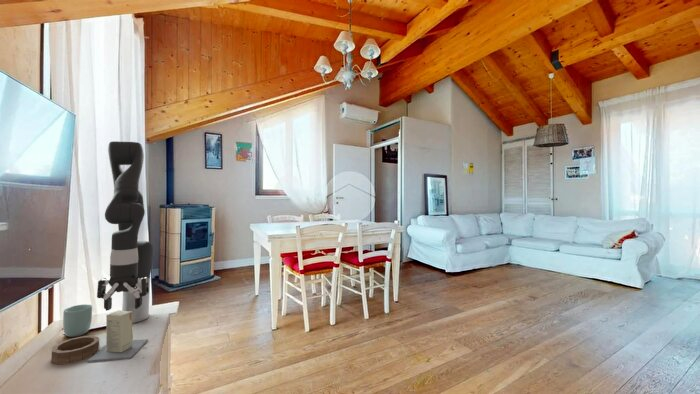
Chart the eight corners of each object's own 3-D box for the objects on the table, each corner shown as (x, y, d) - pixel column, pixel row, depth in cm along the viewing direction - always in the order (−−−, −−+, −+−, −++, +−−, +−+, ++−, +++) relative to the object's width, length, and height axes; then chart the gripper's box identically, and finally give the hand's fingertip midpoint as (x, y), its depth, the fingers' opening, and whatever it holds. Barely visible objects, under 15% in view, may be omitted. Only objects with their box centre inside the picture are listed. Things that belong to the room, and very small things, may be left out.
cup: (77, 329, 112) (78, 303, 113) (96, 330, 112) (97, 304, 112) (56, 339, 105) (57, 311, 105) (77, 339, 104) (78, 312, 104)
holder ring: (68, 347, 99) (68, 337, 99) (105, 344, 102) (106, 334, 102) (41, 365, 88) (42, 354, 88) (84, 361, 91) (85, 350, 91)
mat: (109, 343, 102) (109, 342, 102) (147, 340, 105) (147, 339, 105) (87, 362, 91) (87, 360, 91) (131, 358, 93) (131, 356, 93)
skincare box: (133, 346, 99) (134, 311, 99) (120, 353, 95) (121, 316, 95) (117, 344, 100) (118, 309, 101) (104, 351, 96) (105, 314, 96)
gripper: (92, 264, 93) (91, 314, 93) (143, 263, 96) (142, 311, 96) (106, 259, 100) (105, 306, 100) (152, 258, 104) (151, 303, 104)
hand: (123, 308), depth 98 cm, fingers open, 8 cm apart
